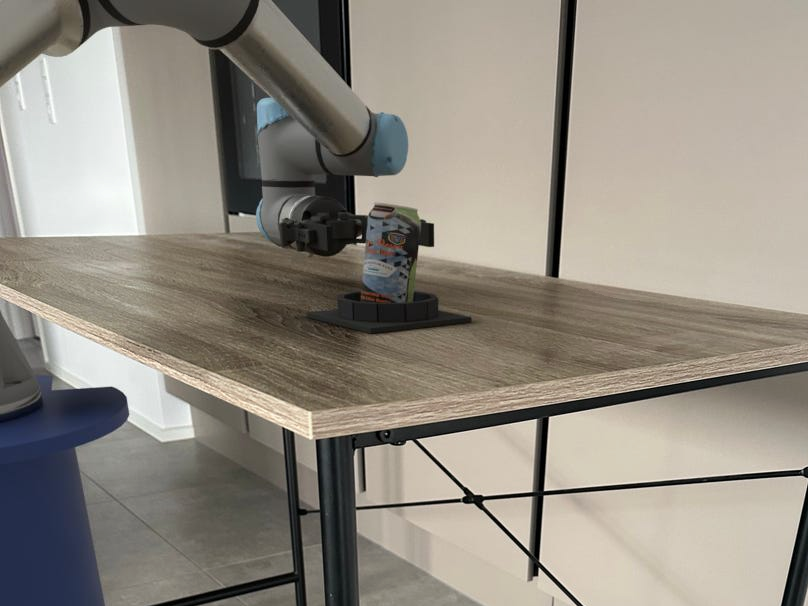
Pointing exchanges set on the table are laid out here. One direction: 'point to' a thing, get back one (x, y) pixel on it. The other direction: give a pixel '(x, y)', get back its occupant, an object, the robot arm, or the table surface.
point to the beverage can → (390, 254)
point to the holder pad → (388, 326)
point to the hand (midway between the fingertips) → (382, 236)
